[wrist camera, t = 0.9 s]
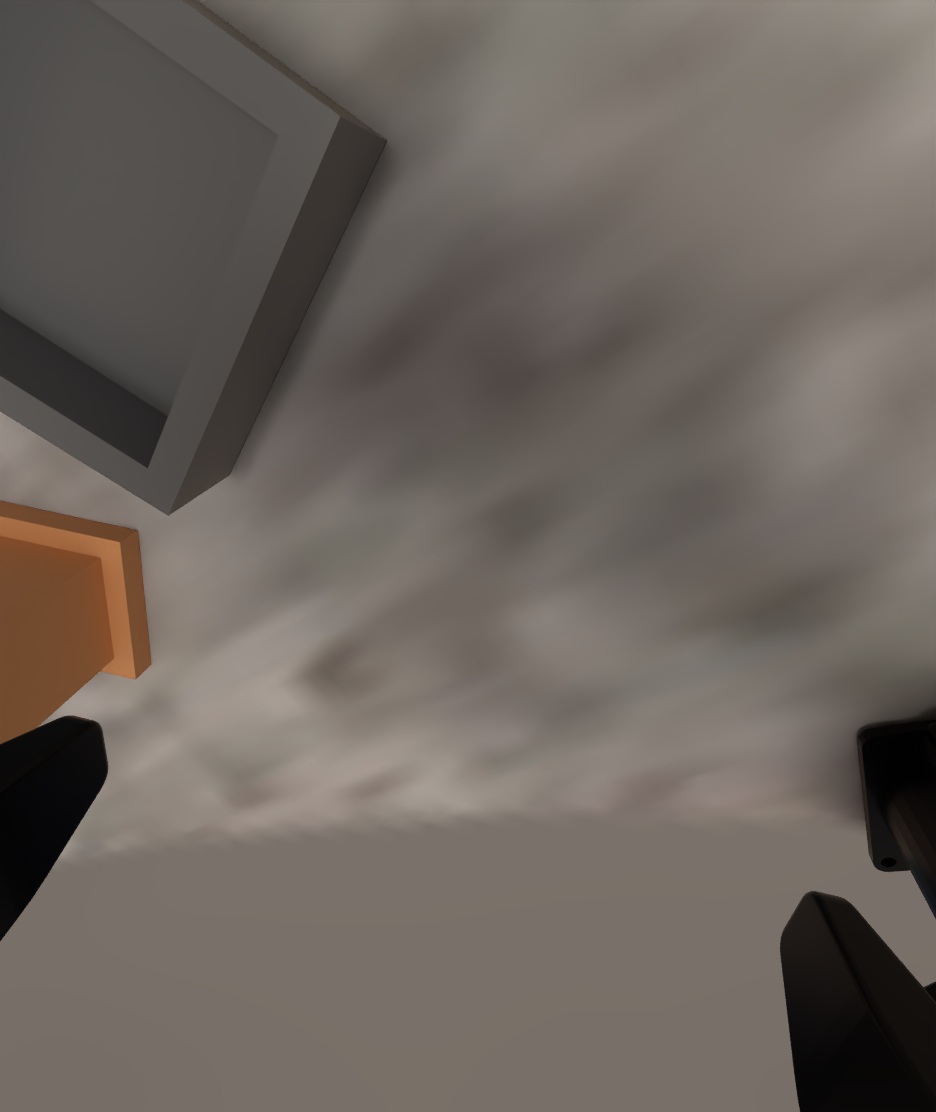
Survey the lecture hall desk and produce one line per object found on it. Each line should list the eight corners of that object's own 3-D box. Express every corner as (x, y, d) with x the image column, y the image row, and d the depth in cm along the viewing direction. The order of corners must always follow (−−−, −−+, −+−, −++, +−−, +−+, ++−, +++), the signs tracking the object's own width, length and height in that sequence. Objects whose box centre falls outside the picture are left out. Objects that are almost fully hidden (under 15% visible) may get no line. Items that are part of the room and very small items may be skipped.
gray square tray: (386, 140, 16) (340, 116, 13) (229, 475, 21) (168, 515, 18) (-14, -154, 15) (-171, -258, 12) (-81, 277, 20) (-205, 284, 17)
